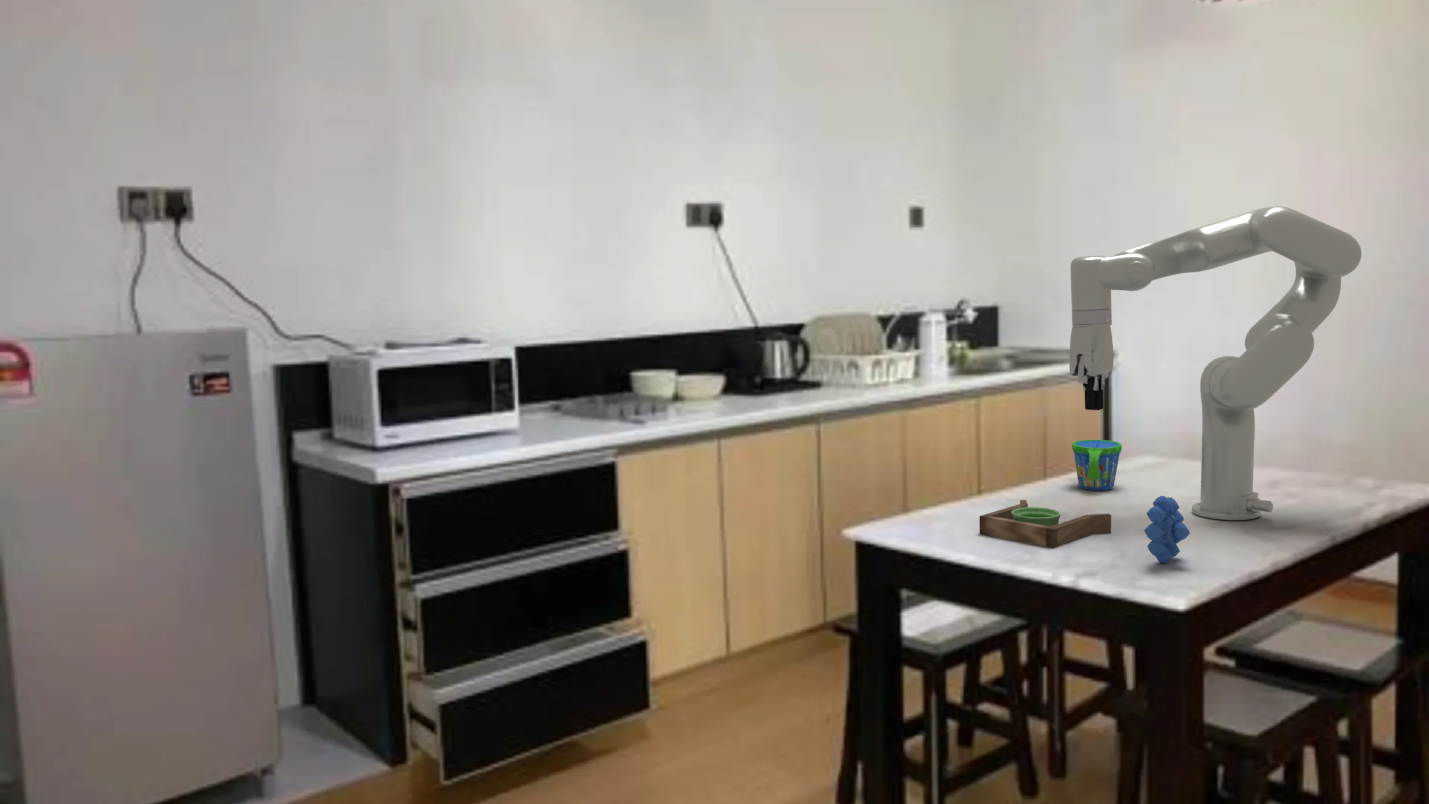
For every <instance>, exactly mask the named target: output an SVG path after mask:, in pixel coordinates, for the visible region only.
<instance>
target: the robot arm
mask: <svg viewBox="0 0 1429 804" xmlns="http://www.w3.org/2000/svg"><path fill="white" fill-rule="evenodd" d="M1268 252H1269V253H1270V252H1273V253H1275V254H1279V255H1280V256H1282V257H1284V258H1286V259H1288V260H1291V261H1293V262H1294V267H1295V279H1294V281H1293V284H1292V286H1291V287H1290V288H1289V290H1288V291H1287V292H1286V294H1285V295H1283V296H1282V298H1281V299H1280V300H1279V301H1278V302H1277V303H1276V304H1274V306H1273V307H1271V308H1270V310H1268V312H1266V313H1265V314H1264V315H1263V317H1261V318H1260V319H1259V320H1258V321H1257V322H1255V324H1254V325H1252V327H1250V328H1249V330H1248V331H1247V333H1246V336H1245V337H1244V338H1245V339H1244V347H1245V351H1244V352H1243V353H1242V354H1240V356H1239V357H1238V356H1231V355H1224V356H1220V357H1217V358H1216V357H1215V358H1214V359H1212V360H1211V361H1210V362H1208V364H1207V365H1206V366H1205V368H1203V371H1202V373H1201V376H1200V381H1199V383H1200V385H1199V391H1200V399H1201V410H1202V411H1201V413H1202V414H1201V415H1202V416H1201V417H1202V420H1201V421H1202V425H1201V427H1202V430H1201V431H1202V433H1201V455H1200V456H1201V460H1200V462H1201V464H1200V465H1201V466H1200V500H1199V502H1197V503H1194V504H1193V505H1191V512H1192V513H1193V514H1194V515H1197V516H1199V517H1202V518H1207V519H1213V520H1220V521H1221V520H1222V521H1247V520H1254V519H1257V518H1259V517H1260V516H1261V515H1262V512H1265V513H1272V512H1273V510H1274V505H1273V502H1272V501H1271V500H1267V499H1265V500H1264V499H1260V498H1259V492H1258V491H1257V492H1256V491H1254V466H1255V465H1254V464H1255V462H1254V460H1255V458H1254V457H1255V436H1256V435H1255V434H1256V433H1255V432H1256V429H1255V428H1256V424H1255V423H1256V421H1255V419H1256V418H1255V409H1256V408H1258V407H1260V406H1261V405H1263V404H1264V403H1266V402H1267V401H1268V400H1269V399H1271V398H1272V397H1273V396H1274V395H1275V394H1276V393H1277V392H1278V391H1279V390H1280V389H1282V387H1283V386H1284V385H1286V384H1287V383H1288V381H1290V379H1292V378H1293V377H1294V376H1295V375H1296V374H1297V373H1299V371H1300V370H1301V369H1303V367H1304V366H1305V365H1306V363H1308V362H1309V360H1310V358H1311V356H1312V353H1313V351H1314V349H1315V348H1314V347H1315V337H1314V335H1313V333H1314V332H1315V330H1317V329H1318V327H1319V326H1320V325H1321V324H1322V323H1323V322H1324V321H1325V320H1326V319H1327V318H1328V317H1329V316H1330V315H1331V313H1332V312H1333V311H1334V309H1335V308H1336V306H1337V303H1338V301H1339V297H1340V294H1341V290H1342V289H1341V287H1342V278H1343V277H1346V275H1349V274H1350V273H1352V272H1354V271H1355V270H1356V269H1357V267H1358V266H1359V265H1360V263H1361V259H1362V248H1361V245H1360V243H1359V241H1358V240H1357V239H1356V238H1355V237H1354V236H1352V235H1351V234H1349V233H1348V232H1345V231H1343V230H1341V229H1339V228H1337V227H1334V226H1332V225H1330V224H1327V223H1324V222H1323V221H1321V220H1317V219H1316V218H1313V217H1311V216H1308V215H1307V214H1305V213H1302V212H1300V211H1297V210H1295V209H1293V208H1290V207H1287V206H1280V205H1279V206H1269V207H1268V206H1267V207H1261V208H1258V209H1254V210H1251V211H1248V212H1245V213H1241V214H1238V215H1235V216H1231V217H1229V218H1226V219H1225V218H1224V219H1222V220H1219V221H1216V222H1212V223H1210V224H1206V225H1203V226H1199V227H1196V228H1193V229H1189V230H1187V231H1184V232H1181V233H1178V234H1176V235H1173V236H1170V237H1167V238H1163V239H1160V240H1156V241H1153V242H1151V243H1150V242H1149V243H1147V244H1143V245H1139V246H1137V247H1134V248H1131V249H1127V250H1124V251H1121V252H1118V253H1116V254H1114V255H1110V256H1105V255H1088V256H1087V255H1086V256H1079V257H1075V258H1073V259H1072V260H1071V262H1070V294H1071V323H1072V324H1071V325H1072V327H1071V331H1070V341H1069V362H1068V363H1069V364H1068V365H1069V373H1070V375H1071V376H1073V377H1077V380H1076V381H1077V383H1079V384H1082V388H1083V391H1084V409H1085V410H1086V411H1100V410H1104V407H1105V406H1104V403H1105V402H1104V389H1105V380H1107V378H1109V377H1110V372H1111V371H1112V370H1113V369H1114V359H1115V358H1114V343H1113V334H1112V327H1111V326H1112V325H1113V322H1112V321H1113V319H1112V318H1113V317H1112V291H1128V292H1134V291H1136V292H1137V291H1140V290H1143V289H1144V288H1146V287H1148V286H1149V285H1150V284H1151V283H1152V281H1155V280H1159V279H1163V278H1166V277H1171V276H1174V275H1179V274H1188V273H1190V274H1191V273H1199V272H1204V271H1209V270H1214V269H1217V268H1219V267H1223V266H1226V265H1229V264H1232V263H1233V264H1234V263H1235V262H1239V261H1242V260H1245V259H1249V258H1252V257H1255V256H1258V255H1262V254H1265V253H1268Z"/></svg>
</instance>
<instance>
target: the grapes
mask: <svg viewBox="0 0 1429 804" xmlns="http://www.w3.org/2000/svg"><path fill="white" fill-rule="evenodd" d="M1152 505H1153V506H1152V507H1150V509H1148V510H1147V512H1146V516H1147V518H1148V519H1149V521H1150V522H1151V523H1150V524H1148V525H1147V526H1146V527H1145V529H1144V533H1145V535H1146V536H1147V538H1148V539H1149V540H1151V541H1150V542H1149V543H1148V544H1147V546H1146V547H1147V549H1148V551H1149V553H1150V554H1151V555H1152V556H1154V557H1155V558H1156V560H1157V561H1158V562H1159V563H1161V564H1166V563H1168V562H1170V560H1171V559H1173V558H1174V557H1176V556H1177V555H1179V553H1180V552H1181V549H1180V547H1178V545H1177V544H1179V543H1180V542H1182V541H1184V540H1185V539H1187V537H1188V536H1189V535H1190V534H1191V532H1190V529H1189V528H1188V527H1187V525H1186V524H1185V523H1183V521H1185V518H1184V516H1183V514H1182V513H1181V512H1180V511H1179V509H1180V506H1179V504H1178V502H1177V501H1176V500H1175V499H1174V498H1173V497H1169V496H1168V497H1167V496H1165V495H1159V496H1158V497H1156V498H1155V500H1154V501H1153V502H1152Z"/></svg>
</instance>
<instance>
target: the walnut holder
mask: <svg viewBox="0 0 1429 804" xmlns="http://www.w3.org/2000/svg"><path fill="white" fill-rule="evenodd" d="M1019 501H1020V502H1019V504H1015V505H1012V506H1009V507H1006V508H1002V509H999V510H996V511H992V512H989V513H986V514H982V515H979V534H980V535H983V536H984V535H985V536H989V537H995V538H999V539H1004V540H1009V541H1015V542H1021V543H1024V542H1025V544H1029V543H1031V545H1035V546H1039V545H1041V546H1040V547H1044V546H1046V548H1049V547H1050V549H1055V548H1058V547H1060V546H1059V545H1061V546H1063V544H1064V545H1066V544H1070V543H1071V542H1075V541H1078V540H1080V539H1083V538H1086V537H1089V536H1092V535H1096V534H1097V535H1098V533H1099V534H1111V533H1112V514H1111V513H1093V514H1092V513H1091V514H1090V513H1089V514H1085V515H1082V516H1079V517H1075V518H1072V519H1070V520H1066V521H1064V522H1061V523H1060V522H1059V524H1057V525H1054V526H1051V527H1050V526H1044V525H1039V524H1033V523H1028V522H1022V521H1017V520H1013V517H1012V514H1011V512H1012V511H1013V510H1015V509H1018V508H1024V507H1029V505H1028V501H1027V499H1020V500H1019ZM1077 539H1078V540H1077ZM1057 546H1058V547H1057ZM1051 547H1052V548H1051ZM1054 547H1055V548H1054Z"/></svg>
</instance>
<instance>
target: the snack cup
mask: <svg viewBox="0 0 1429 804" xmlns="http://www.w3.org/2000/svg"><path fill="white" fill-rule="evenodd" d="M1071 448H1072V449H1071V450H1072V452H1073V454H1074V462H1075V470H1076V475H1077V482H1078V485H1079V487H1080V488H1081V489H1086V490H1088V491H1108V490H1112V489H1113V488H1114V486H1115V484H1116V483H1115V482H1116V476H1117V471H1118V465H1119V459H1120V454H1121V452H1122V450H1123V449H1122V443H1121V442H1118V441H1114V440H1106V439H1082V440H1077V441H1073V442H1072V444H1071Z"/></svg>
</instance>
